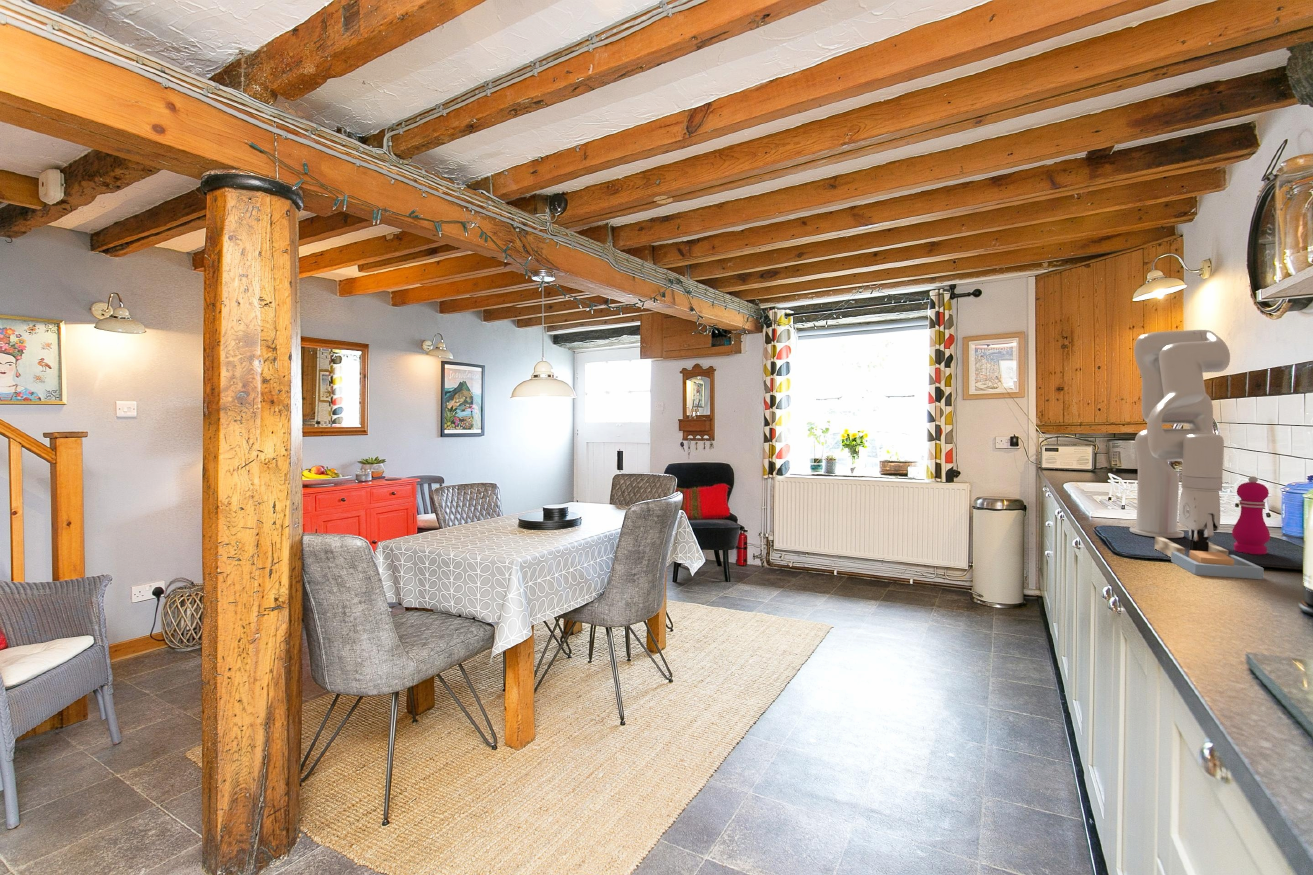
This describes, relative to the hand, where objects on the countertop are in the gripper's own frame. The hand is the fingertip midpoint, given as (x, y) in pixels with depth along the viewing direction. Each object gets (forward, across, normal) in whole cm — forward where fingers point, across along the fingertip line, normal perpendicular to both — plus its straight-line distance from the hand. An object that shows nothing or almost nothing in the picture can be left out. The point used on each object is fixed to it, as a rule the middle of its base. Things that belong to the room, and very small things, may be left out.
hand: (1198, 555), depth 153 cm
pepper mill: (+2, -15, +17) cm, 23 cm away
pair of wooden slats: (+1, -5, 0) cm, 5 cm away
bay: (+1, +7, 0) cm, 8 cm away
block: (+2, +9, -1) cm, 9 cm away
